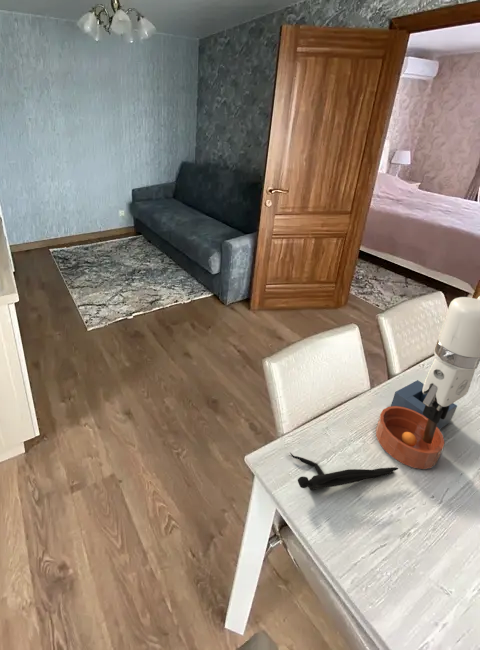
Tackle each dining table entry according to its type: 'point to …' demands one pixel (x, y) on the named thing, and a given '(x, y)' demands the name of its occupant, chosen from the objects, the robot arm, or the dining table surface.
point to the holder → (418, 401)
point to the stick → (429, 430)
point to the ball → (409, 439)
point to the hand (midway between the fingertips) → (433, 416)
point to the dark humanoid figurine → (339, 476)
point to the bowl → (411, 421)
